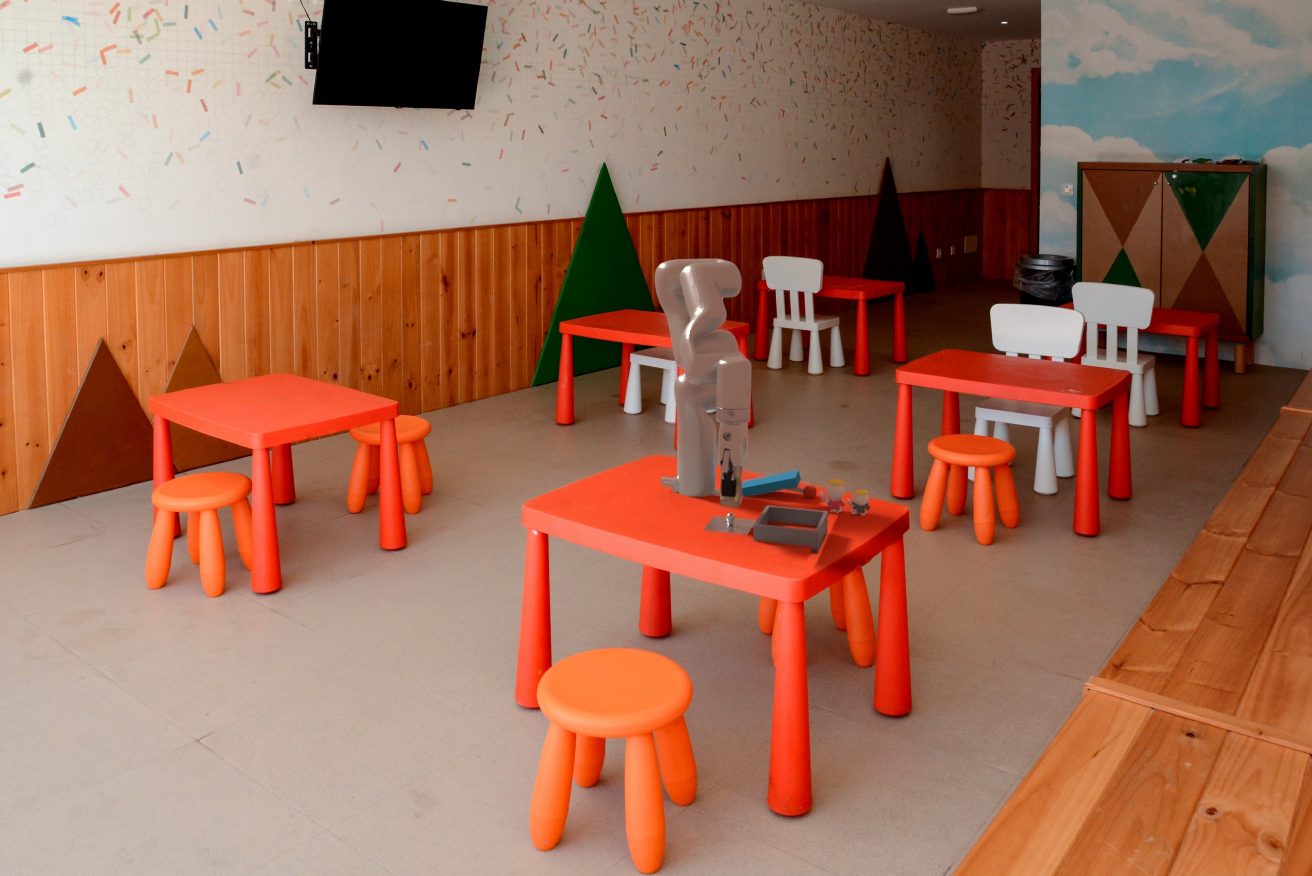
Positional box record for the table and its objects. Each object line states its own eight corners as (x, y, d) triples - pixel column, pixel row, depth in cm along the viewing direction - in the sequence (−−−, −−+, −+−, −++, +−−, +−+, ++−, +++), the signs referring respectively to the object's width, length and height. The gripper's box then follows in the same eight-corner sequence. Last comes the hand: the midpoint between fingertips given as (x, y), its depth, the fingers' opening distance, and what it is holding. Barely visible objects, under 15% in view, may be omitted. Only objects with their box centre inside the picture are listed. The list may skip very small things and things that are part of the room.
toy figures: (870, 512, 253) (872, 478, 251) (869, 518, 249) (871, 484, 247) (820, 508, 256) (821, 475, 254) (818, 513, 252) (819, 480, 250)
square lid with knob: (703, 536, 237) (703, 517, 235) (714, 521, 246) (714, 504, 245) (747, 541, 234) (747, 522, 233) (756, 526, 243) (757, 508, 242)
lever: (746, 514, 265) (816, 501, 260) (739, 488, 264) (809, 474, 259) (750, 506, 272) (819, 493, 266) (744, 480, 270) (812, 467, 265)
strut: (737, 507, 236) (738, 464, 233) (720, 506, 237) (720, 463, 234) (741, 502, 239) (742, 459, 237) (724, 500, 241) (725, 458, 238)
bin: (753, 546, 230) (753, 524, 229) (766, 525, 243) (766, 505, 242) (817, 553, 226) (818, 531, 225) (827, 532, 239) (828, 511, 238)
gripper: (741, 424, 224) (738, 506, 229) (757, 406, 239) (755, 484, 244) (706, 421, 226) (705, 502, 231) (725, 404, 242) (723, 480, 246)
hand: (731, 492), depth 237 cm, fingers closed on strut, 4 cm apart
